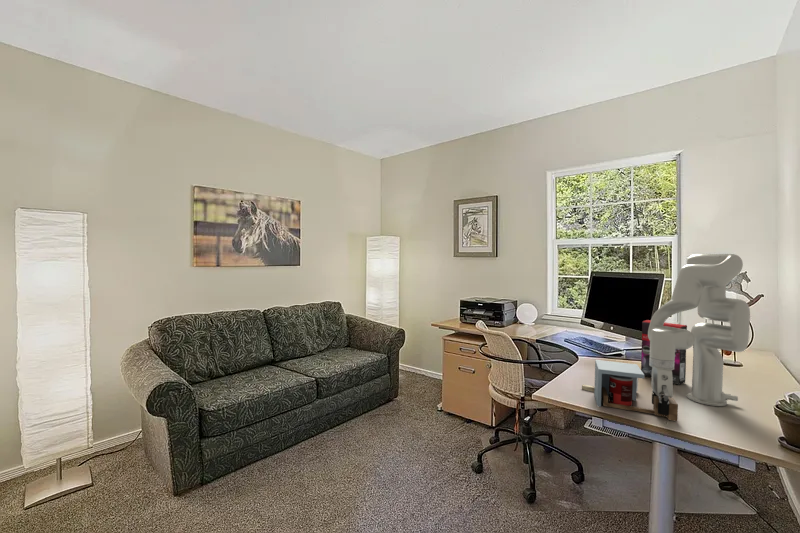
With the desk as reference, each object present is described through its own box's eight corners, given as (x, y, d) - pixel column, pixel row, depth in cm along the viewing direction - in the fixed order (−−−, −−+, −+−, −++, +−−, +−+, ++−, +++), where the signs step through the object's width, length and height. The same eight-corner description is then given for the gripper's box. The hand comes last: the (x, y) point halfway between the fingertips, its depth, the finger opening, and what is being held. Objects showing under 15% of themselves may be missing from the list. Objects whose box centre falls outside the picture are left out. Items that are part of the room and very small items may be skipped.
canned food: (610, 398, 152) (611, 371, 152) (633, 403, 147) (634, 376, 147) (606, 404, 146) (607, 376, 146) (630, 409, 141) (631, 380, 141)
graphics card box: (639, 375, 184) (641, 320, 183) (646, 373, 188) (648, 319, 187) (679, 385, 170) (681, 326, 169) (686, 383, 173) (688, 325, 173)
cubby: (635, 399, 151) (637, 364, 151) (643, 413, 137) (644, 374, 137) (594, 393, 157) (595, 359, 157) (597, 406, 144) (598, 369, 143)
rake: (666, 406, 144) (667, 391, 144) (677, 421, 131) (677, 404, 131) (600, 396, 154) (601, 382, 153) (604, 409, 140) (604, 393, 140)
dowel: (613, 395, 157) (614, 390, 157) (613, 396, 155) (613, 392, 155) (582, 388, 164) (583, 384, 164) (581, 390, 163) (582, 385, 163)
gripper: (681, 370, 127) (679, 420, 127) (667, 358, 143) (666, 403, 143) (654, 367, 130) (652, 416, 130) (644, 356, 146) (643, 399, 146)
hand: (659, 409), depth 137 cm, fingers open, 9 cm apart
